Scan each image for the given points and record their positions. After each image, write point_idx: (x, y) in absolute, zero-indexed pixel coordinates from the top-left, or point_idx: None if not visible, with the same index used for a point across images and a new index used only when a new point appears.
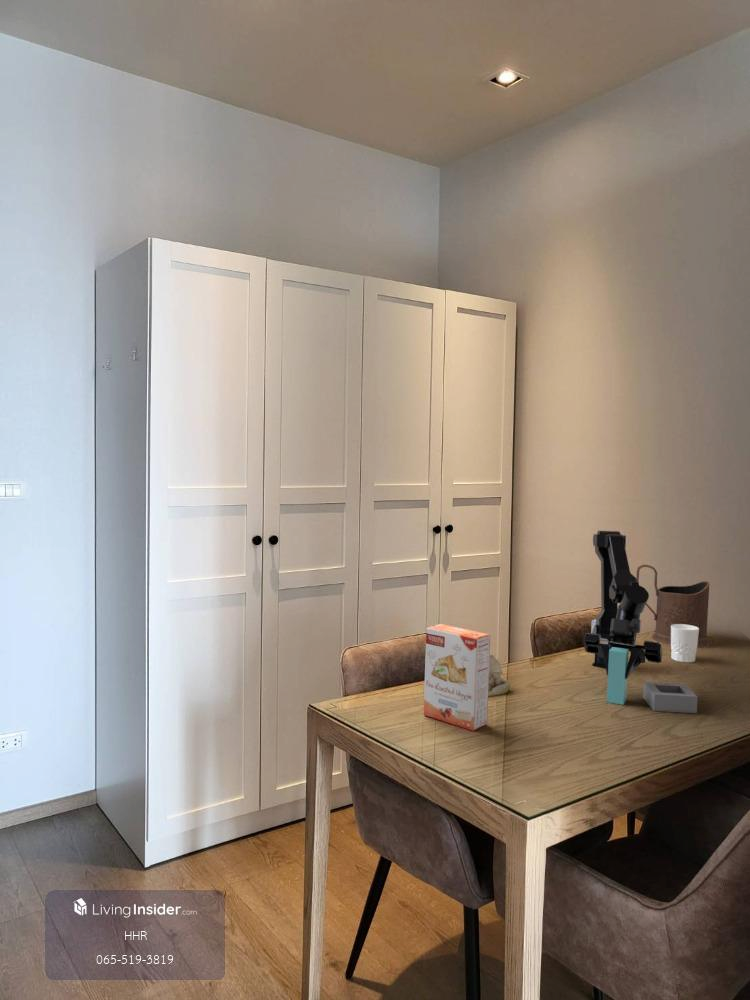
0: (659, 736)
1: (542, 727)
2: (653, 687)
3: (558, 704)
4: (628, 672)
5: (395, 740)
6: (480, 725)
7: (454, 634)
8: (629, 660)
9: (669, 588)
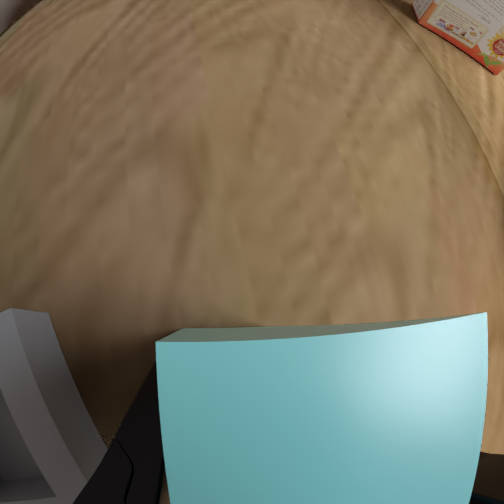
0: (53, 63)
1: (344, 20)
2: (42, 447)
3: (403, 188)
4: (150, 370)
5: None
6: (416, 10)
7: None
8: (152, 480)
9: None
